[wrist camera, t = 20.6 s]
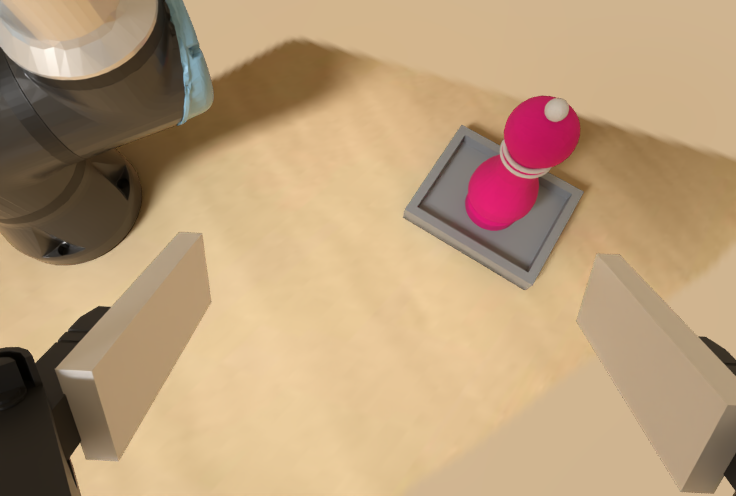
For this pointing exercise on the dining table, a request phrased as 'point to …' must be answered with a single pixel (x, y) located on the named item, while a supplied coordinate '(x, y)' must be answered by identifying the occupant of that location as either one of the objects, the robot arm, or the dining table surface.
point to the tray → (490, 248)
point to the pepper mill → (522, 161)
